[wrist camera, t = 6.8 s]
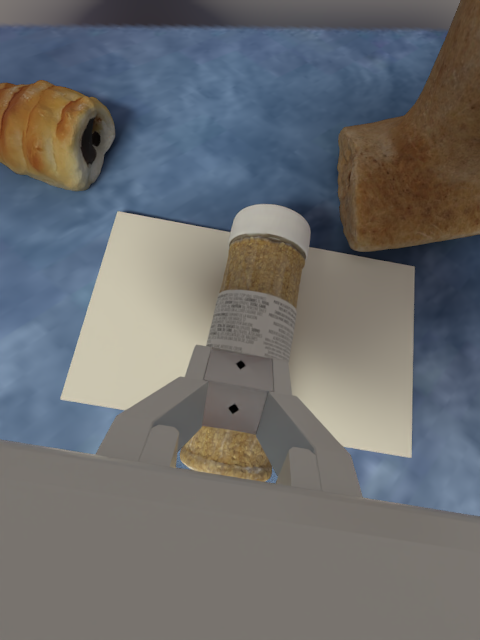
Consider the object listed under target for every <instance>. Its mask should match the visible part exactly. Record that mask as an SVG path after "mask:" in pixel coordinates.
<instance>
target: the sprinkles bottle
mask: <svg viewBox="0 0 480 640" xmlns="http://www.w3.org/2000/svg"><path fill="white" fill-rule="evenodd" d="M310 235H311V231H310V227H309V224H308V223H307V221H306V220H305V219H304V218H303V217H302V216H301V215H300V214H298V213H297V212H295V211H293V210H291V209H289V208H286V207H283V206H279V205H274V204H257V205H252V206H249V207H247V208H244V209H243V210H241V211H240V212H239V213H238V214H237V215H236V217H235V218H234V221H233V225H232V228H231V232H230V236H229V241H228V248H229V250H228V251H229V253H228V260H227V264H226V269H225V272H224V276H223V281H222V285H221V289H220V292H219V295H218V297H217V301H216V305H215V310H214V314H213V318H212V323H211V326H210V330H209V334H208V339H207V343H206V346H208V347H211V348H212V347H214V348H219V349H224V350H229V351H234V352H239V353H243V354H249V355H255V356H261V357H267V358H277V359H284V360H287V361H288V364H289V358H290V352H291V346H292V340H293V334H294V328H295V321H296V314H297V311H296V307H297V300H298V293H299V284H300V279H301V274H302V269H303V268H304V266H305V261H306V260H307V257H308V251H309V243H310ZM180 459H181V461H182V463H184V464H185V465H186V466H188V467H189V468H190V469H192V470H195V471H200V472H206V473H212V474H219V475H225V476H231V477H237V478H243V479H250V480H256V481H262V482H265V481H266V480H268V479H269V478H270V477H271V474H272V466H271V463H270V461H269V460H268V458H267V456H266V454H265V452H264V450H263V448H262V447H261V445H260V443H259V441H258V439H257V437H256V435H254V434H249V433H244V432H239V431H234V430H228V429H221V428H214V427H206V426H202V428H201V429H200V430H199V431H198V432H197V433H196V434H195V435H194V436H193V437H192V438H191V439H190V440H189V441H188V442H187V443H186V444H185V445H184V446H183V447H182V449H181V452H180Z"/></svg>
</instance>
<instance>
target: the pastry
mask: <svg viewBox="0 0 480 640" xmlns="http://www.w3.org/2000/svg"><path fill="white" fill-rule="evenodd" d="M114 138H115V126H114V122H113V119H112V117H111V114H110V112H109V110H108V109H107V107H106V106H104V105H103V104H102V103H101V102H100V101H99V100H98V99H96V98H94V97H90V98H89V97H88V96H85V95H83V94H81V93H79V92H77V91H74V90H72V89H69V88H66V87H60V86H55V85H53V84H51V83H49V82H47V81H44V80H39V81H37V82H36V83H34V84H29V85H22V84H21V85H14V84H10V83H1V84H0V162H1V163H3V164H4V165H6V166H7V167H9V168H10V169H11V170H12V171H13V172H15V173H17V174H20V175H28V176H30V177H32V178H34V179H38V180H40V181H43V182H45V183H47V184H49V185H52V186H56V187H59V188H63V189H66V190H72V191H83V190H86V189H88V188H89V186H90V184H92V183H94V182H95V181H96V179H97V177H98V176H99V174H100V172H101V167H102V165H103V160H104V154H105V153H106V152H107V150H108V149H109V148H110V146H111V144H112V142H113V140H114Z"/></svg>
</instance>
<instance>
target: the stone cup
mask: <svg viewBox="0 0 480 640" xmlns="http://www.w3.org/2000/svg"><path fill="white" fill-rule="evenodd" d="M338 143H339V148H340V152H339V160H338V166H337V170H338V172H339V174H338V186H339V187H338V197H339V200H340V207H339V208H340V219H341V222H342V224H343V227H344V229H343V232H344V234H345V236H346V238H347V240H348V243H349V245H350V247H351V249H353V250H355V251H359V252H369V251H378V250H385V249H396V248H403V247H409V246H415V245H421V244H427V243H432V242H438V241H445V240H451V239H457V238H462V237H468V236H473V235H478V234H480V0H461V1H460V3H459V6H458V9H457V11H456V14H455V16H454V19H453V21H452V24H451V26H450V29H449V31H448V34H447V36H446V39H445V41H444V43H443V45H442V48H441V50H440V52H439V54H438V57H437V59H436V61H435V64H434V66H433V68H432V71H431V73H430V75H429V78H428V80H427V82H426V84H425V86H424V89H423V91H422V93H421V94H420V96H419V98H418V100H417V101H416V103H415V104H414V105H413V107H412V108H411V109H410V110H409V111H408V112H407V113H406V115H404V116H401V117H396V118H391V119H386V120H382V121H378V122H374V123H368V124H362V125H356V126H349V127H344V128H343V129H342V130H341V132H340V134H339V140H338Z"/></svg>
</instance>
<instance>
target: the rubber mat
mask: <svg viewBox="0 0 480 640" xmlns="http://www.w3.org/2000/svg"><path fill="white" fill-rule="evenodd" d="M229 236H230V232H226V231H221V230H216V229H210V228H205V227H200V226H194V225H189V224H183V223H178V222H173V221H167V220H162V219H157V218H151V217H146V216H141V215H135V214H130V213H124V212H119V211H118V212H117V215H116V218H115V222H114V225H113V228H112V231H111V235H110V238H109V241H108V244H107V248H106V251H105V254H104V258H103V261H102V264H101V267H100V271H99V274H98V277H97V280H96V284H95V287H94V290H93V294H92V297H91V300H90V303H89V307H88V310H87V313H86V316H85V320H84V323H83V326H82V330H81V333H80V336H79V339H78V343H77V346H76V349H75V352H74V356H73V359H72V362H71V366H70V369H69V372H68V375H67V379H66V382H65V385H64V388H63V392H62V395H61V398H60V399H61V400H67V401H73V402H79V403H85V404H91V405H97V406H103V407H109V408H115V409H121V410H127V409H128V408H130V407H132V406H133V405H135V404H136V403H138V402H140V401H141V400H143V399H144V398H146V397H148V396H149V395H151V394H152V393H154V392H156V391H157V390H159V389H160V388H162V387H164V386H165V385H167V384H168V383H170V382H172V381H173V380H175V379H176V378H178V377H180V376H181V377H185V374H186V371H187V368H188V365H189V362H190V359H191V356H192V353H193V350H194V347H195V346H196V344H197V345H202V346H206V343H207V339H208V334H209V330H210V326H211V323H212V318H213V314H214V310H215V305H216V301H217V297H218V295H219V292H220V289H221V285H222V281H223V276H224V272H225V269H226V264H227V260H228V253H229V251H228V250H229V248H228V241H229ZM414 277H415V267H414V266H409V265H403V264H398V263H393V262H387V261H382V260H377V259H371V258H366V257H360V256H355V255H350V254H344V253H339V252H334V251H328V250H323V249H318V248H312V247H309V251H308V257H307V260H306V261H305V266H304V268H303V269H302V274H301V279H300V284H299V293H298V300H297V307H296V311H297V314H296V321H295V328H294V334H293V340H292V346H291V352H290V358H289V364H288V365H289V373H290V381H291V389H292V395H293V396H297V397H298V398H299V399H300V400H301V401H302V402H303V403H304V404H305V406H306V407H307V408H308V409H309V410H310V411H311V412H312V413H313V414H314V415H315V417H316V418H317V419H318V420H319V421H320V422H321V423H322V424H323V425H324V426H325V428H326V429H327V430H328V431H329V432H330V433H331V434H332V435H333V436H334V437H335V439H336V440H337V441H338V442H339V443H340V444H341V445H342V446H343V447H349V448H355V449H361V450H367V451H373V452H379V453H385V454H391V455H397V456H403V457H409V458H411V447H412V390H413V334H414Z"/></svg>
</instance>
